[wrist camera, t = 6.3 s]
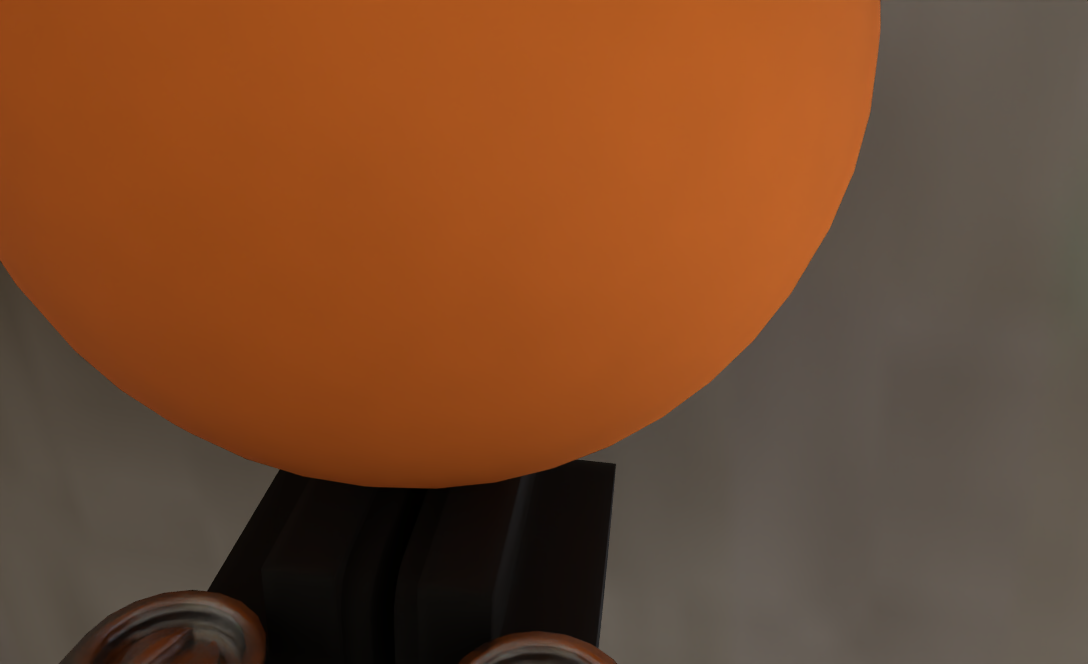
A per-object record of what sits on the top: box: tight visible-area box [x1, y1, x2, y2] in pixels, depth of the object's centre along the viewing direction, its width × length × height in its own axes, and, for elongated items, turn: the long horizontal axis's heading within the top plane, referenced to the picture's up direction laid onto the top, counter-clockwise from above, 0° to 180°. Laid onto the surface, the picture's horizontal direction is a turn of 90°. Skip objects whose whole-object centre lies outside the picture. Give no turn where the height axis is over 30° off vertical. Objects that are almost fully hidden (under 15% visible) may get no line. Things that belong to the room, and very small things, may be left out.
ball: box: [0, 0, 880, 489], centre depth 7 cm, size 6×6×6 cm
